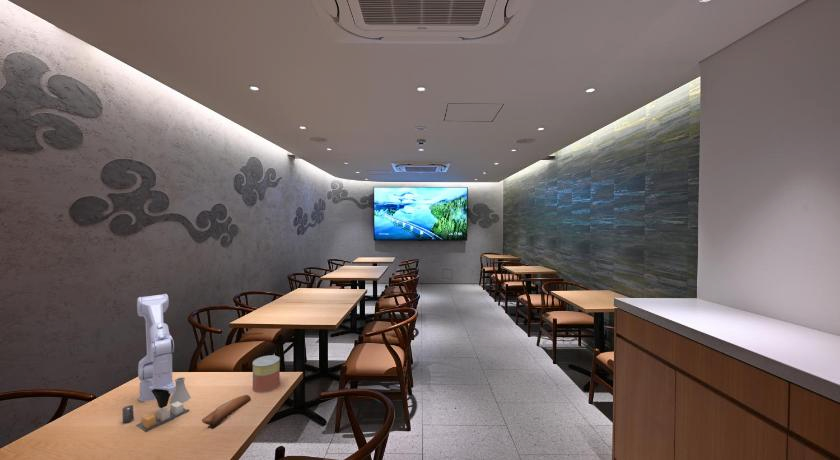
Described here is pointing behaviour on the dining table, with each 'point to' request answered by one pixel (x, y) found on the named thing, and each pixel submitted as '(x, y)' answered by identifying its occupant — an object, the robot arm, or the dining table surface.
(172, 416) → the panel
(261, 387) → the canned food
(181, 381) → the flask
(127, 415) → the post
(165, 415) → the toggle mid
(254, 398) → the dining table surface
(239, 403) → the brown tapered rod
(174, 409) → the toggle near
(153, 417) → the toggle orange
